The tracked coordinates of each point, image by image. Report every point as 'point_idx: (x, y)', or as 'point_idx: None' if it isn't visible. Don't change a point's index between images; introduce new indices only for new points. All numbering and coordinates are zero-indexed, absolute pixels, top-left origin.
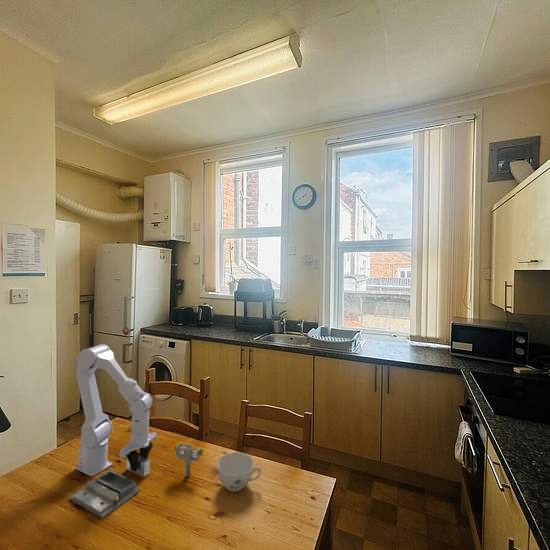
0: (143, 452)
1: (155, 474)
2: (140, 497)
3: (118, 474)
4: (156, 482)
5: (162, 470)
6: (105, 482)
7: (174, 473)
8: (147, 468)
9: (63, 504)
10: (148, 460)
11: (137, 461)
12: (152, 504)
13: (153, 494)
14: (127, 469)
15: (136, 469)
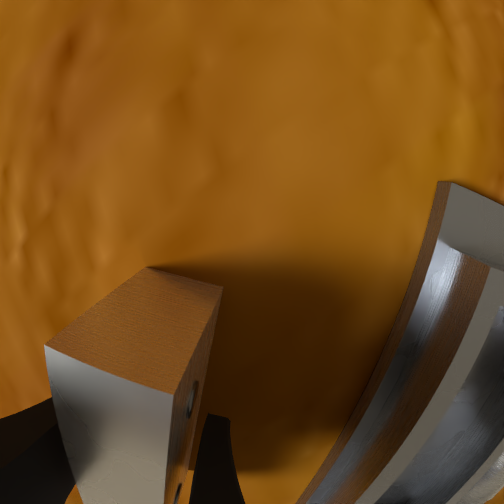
0: (36, 492)
1: (137, 187)
2: (494, 130)
3: (369, 497)
4: (261, 81)
5: (66, 160)
6: (464, 486)
7: (85, 20)
8: (149, 306)
9: None
10: (73, 365)
11: (194, 499)
12: (498, 7)
13: (428, 27)
14: (188, 466)
15: (208, 421)
